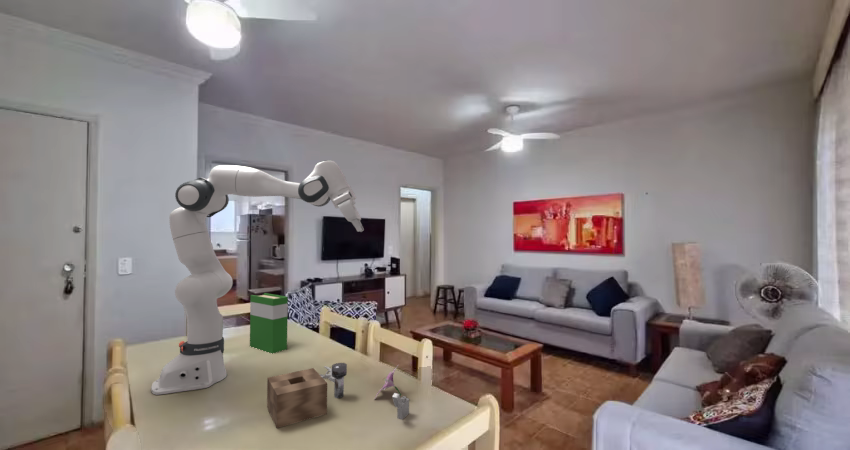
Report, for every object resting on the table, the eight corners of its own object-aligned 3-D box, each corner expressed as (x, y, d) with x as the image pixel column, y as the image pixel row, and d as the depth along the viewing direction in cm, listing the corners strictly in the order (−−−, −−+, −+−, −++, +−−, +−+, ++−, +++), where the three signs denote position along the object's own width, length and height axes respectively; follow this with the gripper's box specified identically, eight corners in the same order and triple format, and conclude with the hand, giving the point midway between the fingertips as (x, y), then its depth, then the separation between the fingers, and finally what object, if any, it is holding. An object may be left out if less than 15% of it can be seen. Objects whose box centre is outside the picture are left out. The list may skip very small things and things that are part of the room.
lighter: (404, 411, 106) (404, 384, 106) (409, 413, 105) (409, 386, 105) (391, 423, 99) (391, 394, 100) (397, 424, 99) (397, 395, 99)
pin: (334, 401, 112) (334, 369, 113) (329, 395, 116) (329, 364, 117) (348, 397, 115) (349, 366, 115) (343, 391, 119) (343, 361, 119)
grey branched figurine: (325, 363, 141) (349, 373, 131) (325, 367, 141) (349, 377, 131) (303, 370, 134) (326, 381, 124) (303, 375, 134) (326, 386, 124)
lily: (394, 387, 125) (380, 364, 125) (418, 381, 119) (404, 357, 119) (375, 412, 115) (360, 387, 115) (401, 407, 109) (385, 381, 108)
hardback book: (249, 346, 166) (250, 295, 166) (264, 342, 172) (265, 293, 172) (272, 353, 156) (273, 299, 157) (287, 349, 162) (287, 296, 163)
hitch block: (276, 428, 97) (277, 394, 97) (266, 407, 108) (267, 377, 108) (327, 413, 104) (327, 383, 105) (312, 395, 116) (313, 368, 116)
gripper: (340, 205, 145) (356, 234, 145) (332, 200, 125) (350, 235, 125) (354, 198, 146) (370, 227, 146) (348, 192, 125) (366, 226, 126)
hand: (361, 231), depth 135 cm, fingers open, 8 cm apart
